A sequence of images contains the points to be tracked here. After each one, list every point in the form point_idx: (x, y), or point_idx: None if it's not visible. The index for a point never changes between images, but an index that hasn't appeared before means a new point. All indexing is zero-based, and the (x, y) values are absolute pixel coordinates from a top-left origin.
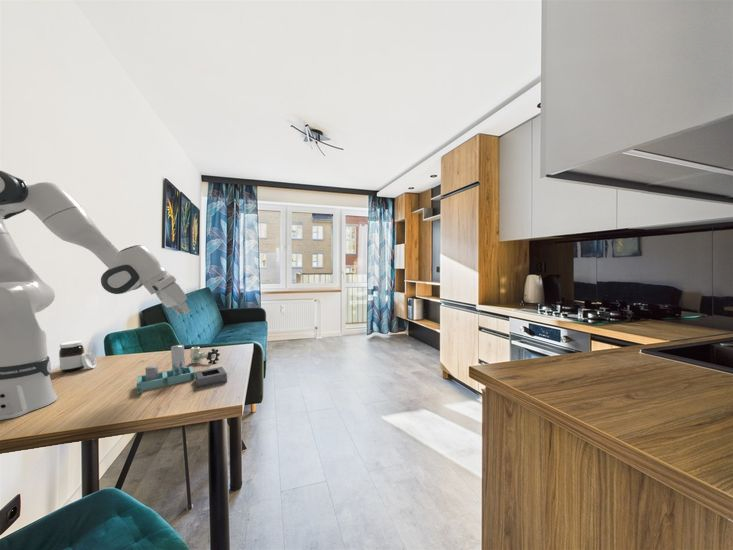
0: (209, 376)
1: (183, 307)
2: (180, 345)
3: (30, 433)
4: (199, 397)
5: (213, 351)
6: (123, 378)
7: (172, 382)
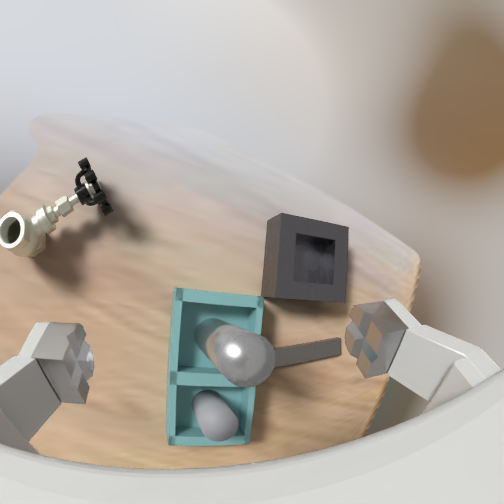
0: (343, 271)
1: (434, 372)
2: (240, 347)
3: None
4: None
5: (96, 178)
6: (63, 449)
7: None
